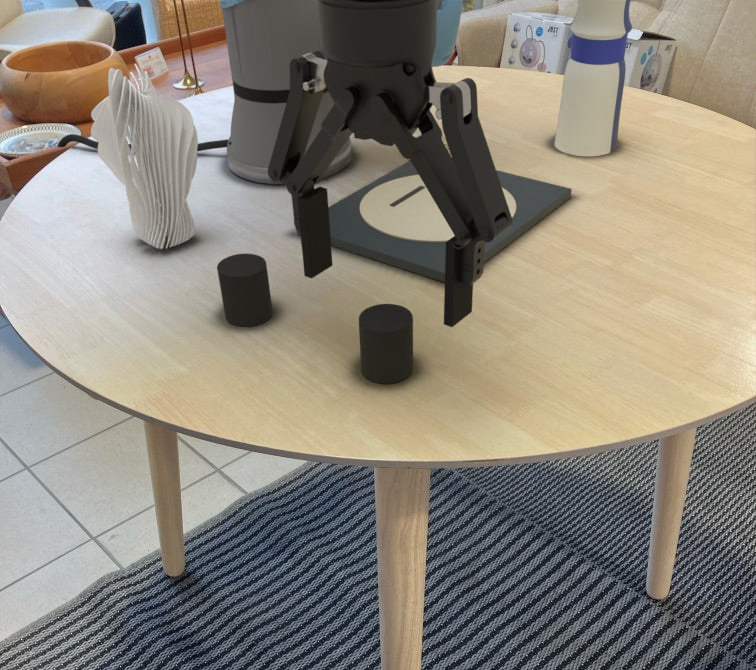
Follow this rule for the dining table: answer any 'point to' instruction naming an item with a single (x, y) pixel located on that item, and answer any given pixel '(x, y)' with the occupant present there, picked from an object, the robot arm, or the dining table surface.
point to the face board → (426, 219)
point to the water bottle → (594, 79)
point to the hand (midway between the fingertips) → (385, 293)
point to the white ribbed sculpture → (149, 156)
